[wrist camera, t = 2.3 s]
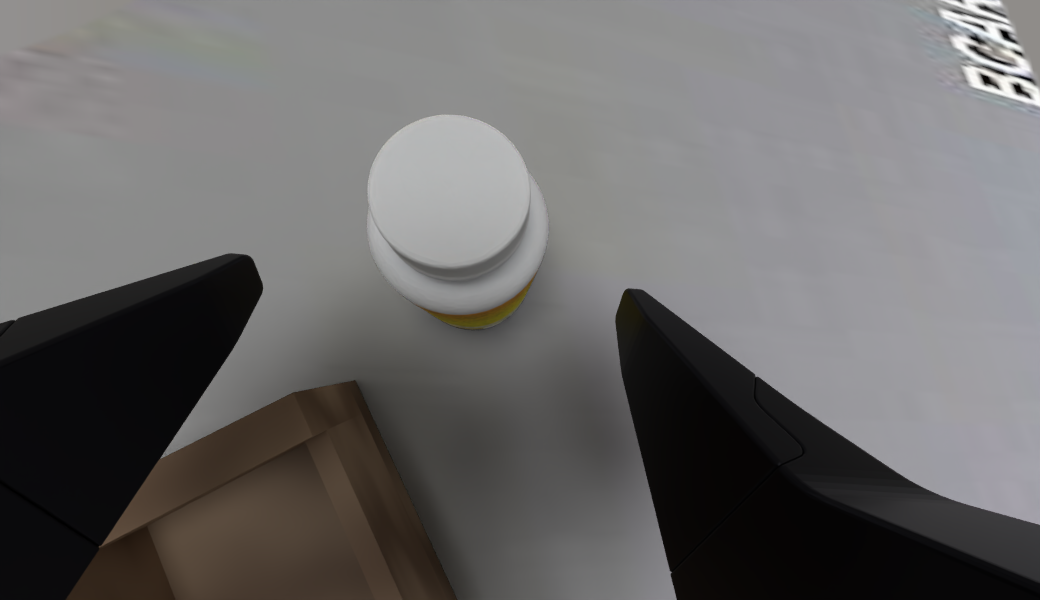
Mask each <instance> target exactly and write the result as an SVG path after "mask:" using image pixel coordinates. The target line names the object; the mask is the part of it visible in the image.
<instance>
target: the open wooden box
mask: <svg viewBox="0 0 1040 600" xmlns="http://www.w3.org/2000/svg"><path fill="white" fill-rule="evenodd" d="M99 547H100V549H99V551H98V553H97V554H96V555H95V557H94V558H93V560H92V561H91V563H90V564H89V566H88V567H87V569H86V570H85V572H84V573H83V575H82V576H81V578H80V579H79V581H78V582H77V584H76V585H75V587H74V588H73V590H72V591H71V593H70V594H69V596H68V597H67V599H66V600H457V599H456V596H455V594H454V592H453V590H452V588H451V586H450V583H449V581H448V579H447V577H446V575H445V573H444V571H443V568H442V566H441V564H440V562H439V560H438V558H437V555H436V553H435V551H434V549H433V547H432V545H431V543H430V540H429V538H428V536H427V534H426V532H425V530H424V527H423V525H422V523H421V521H420V519H419V517H418V515H417V512H416V510H415V508H414V506H413V504H412V502H411V499H410V497H409V495H408V493H407V491H406V489H405V487H404V484H403V482H402V480H401V478H400V476H399V474H398V471H397V469H396V467H395V465H394V463H393V461H392V459H391V456H390V454H389V452H388V450H387V448H386V446H385V444H384V441H383V439H382V437H381V435H380V433H379V431H378V428H377V426H376V424H375V422H374V420H373V418H372V416H371V413H370V411H369V409H368V407H367V405H366V403H365V400H364V398H363V396H362V394H361V392H360V390H359V388H358V385H357V383H356V381H350V382H344V383H339V384H334V385H329V386H324V387H319V388H314V389H309V390H304V391H299V392H294V393H291V394H289V395H287V396H285V397H283V398H281V399H279V400H277V401H275V402H273V403H271V404H269V405H267V406H265V407H263V408H261V409H259V410H257V411H255V412H253V413H251V414H249V415H247V416H245V417H243V418H241V419H239V420H237V421H235V422H233V423H231V424H229V425H227V426H225V427H223V428H222V429H220V430H218V431H216V432H214V433H212V434H210V435H208V436H206V437H204V438H202V439H200V440H198V441H196V442H194V443H192V444H190V445H188V446H186V447H184V448H182V449H180V450H178V451H176V452H174V453H172V454H170V455H168V456H166V457H164V458H162V459H160V460H159V461H158V462H157V464H156V465H155V467H154V468H153V470H152V471H151V473H150V474H149V476H148V477H147V479H146V480H145V482H144V483H143V485H142V486H141V488H140V489H139V491H138V492H137V494H136V495H135V497H134V498H133V500H132V501H131V503H130V504H129V505H128V507H127V508H126V510H125V511H124V513H123V514H122V516H121V517H120V519H119V520H118V522H117V523H116V525H115V526H114V528H113V529H112V531H111V532H110V534H109V535H108V537H107V538H106V540H105V541H104V543H103V544H102V545H101V546H99Z"/></svg>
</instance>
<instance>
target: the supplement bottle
mask: <svg viewBox="0 0 1040 600" xmlns="http://www.w3.org/2000/svg"><path fill="white" fill-rule="evenodd" d="M367 195H368V204H369V209H368V217H367V235H368V242H369V247H370V251H371V254H372V257H373V259H374V261H375V263H376V265H377V267H378V269H379V271H380V272H381V274H382V275H383V277H384V278H385V279H386V281H387V282H388V283H389V284H390V285H391V286H392V287H393V288H394V289H395V290H396V291H397V292H398V293H400V294H401V295H402V296H403V297H405V298H406V299H408V300H409V301H411V302H412V303H414V304H415V305H417V306H419V307H420V308H422V309H424V310H425V311H427V312H428V313H430V314H431V315H433V316H435V317H436V318H438V319H440V320H441V321H443V322H445V323H447V324H449V325H451V326H454V327H457V328H461V329H468V330H480V329H486V328H489V327H492V326H495V325H497V324H499V323H501V322H503V321H504V320H506V319H507V318H508V317H510V316H511V315H512V314H513V313H514V312H515V311H516V310H517V309H518V307H519V306H520V304H521V303H522V301H523V299H524V297H525V295H526V293H527V291H528V289H529V287H530V285H531V283H532V281H533V279H534V277H535V275H536V273H537V271H538V269H539V267H540V264H541V262H542V260H543V257H544V254H545V250H546V247H547V242H548V236H549V218H548V211H547V207H546V203H545V200H544V197H543V195H542V192H541V190H540V188H539V186H538V184H537V183H536V181H535V180H534V178H533V177H532V175H531V174H530V173H529V172H528V170H527V167H526V165H525V163H524V161H523V158H522V156H521V155H520V153H519V152H518V150H517V149H516V147H515V146H514V145H513V143H512V142H511V141H510V140H509V139H508V138H507V137H506V136H505V135H504V134H502V133H501V132H500V131H498V130H497V129H495V128H494V127H492V126H490V125H489V124H487V123H484V122H482V121H480V120H477V119H474V118H470V117H466V116H461V115H437V116H431V117H427V118H424V119H421V120H418V121H416V122H413V123H411V124H409V125H407V126H405V127H404V128H402V129H401V130H399V131H398V132H397V133H395V134H394V135H393V136H392V137H391V138H390V139H389V140H388V141H387V142H386V143H385V144H384V146H383V147H382V148H381V150H380V151H379V153H378V155H377V156H376V158H375V160H374V162H373V165H372V167H371V171H370V174H369V179H368V190H367Z"/></svg>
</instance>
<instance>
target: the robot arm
mask: <svg viewBox="0 0 1040 600" xmlns="http://www.w3.org/2000/svg"><path fill="white" fill-rule="evenodd" d="M262 291H263V284H262V281H261V278H260V276H259V273H258V271H257V268H256V266H255V263H254V261H253V259H252V258H251V257H250V256H248V255H244V254H233V253H230V254H225V255H222V256H219V257H215V258H212V259H209V260H206V261H202V262H199V263H196V264H193V265H189V266H186V267H183V268H180V269H176V270H173V271H170V272H167V273H163V274H160V275H157V276H154V277H150V278H147V279H144V280H141V281H137V282H134V283H131V284H128V285H124V286H121V287H118V288H115V289H111V290H108V291H105V292H101V293H98V294H95V295H92V296H88V297H85V298H82V299H79V300H75V301H72V302H69V303H66V304H62V305H59V306H56V307H53V308H49V309H46V310H43V311H40V312H36V313H33V314H30V315H27V316H23V317H20V318H18V319H17V320H16V321H15V320H10V321H7V322H4V323H0V600H66V599H67V597H68V596H69V594H70V593H71V591H72V590H73V588H74V587H75V585H76V584H77V582H78V581H79V579H80V578H81V576H82V575H83V573H84V572H85V570H86V569H87V567H88V566H89V564H90V563H91V561H92V560H93V558H94V557H95V555H96V554H97V553H98V551H99V549H100V547H99V546H101V545H102V544H103V543H104V541H105V540H106V538H107V537H108V535H109V534H110V532H111V531H112V529H113V528H114V526H115V525H116V523H117V522H118V520H119V519H120V517H121V516H122V514H123V513H124V511H125V510H126V508H127V507H128V505H129V504H130V503H131V501H132V500H133V498H134V497H135V495H136V494H137V492H138V491H139V489H140V488H141V486H142V485H143V483H144V482H145V480H146V479H147V477H148V476H149V474H150V473H151V471H152V470H153V468H154V467H155V465H156V464H157V462H158V461H159V459H160V458H161V456H162V455H163V453H164V452H165V450H166V449H167V447H168V446H169V444H170V443H171V441H172V440H173V438H174V437H175V435H176V434H177V432H178V431H179V429H180V428H181V426H182V425H183V423H184V422H185V420H186V419H187V417H188V416H189V414H190V413H191V411H192V410H193V408H194V407H195V405H196V404H197V402H198V401H199V399H200V398H201V396H202V395H203V393H204V392H205V390H206V389H207V387H208V386H209V384H210V383H211V381H212V380H213V378H214V377H215V375H216V374H217V372H218V371H219V369H220V368H221V366H222V365H223V363H224V362H225V360H226V359H227V357H228V356H229V354H230V353H231V351H232V350H233V348H234V346H235V345H236V343H237V341H238V339H239V337H240V336H241V334H242V332H243V330H244V328H245V326H246V324H247V322H248V320H249V318H250V316H251V314H252V312H253V310H254V308H255V306H256V304H257V303H258V301H259V299H260V297H261V295H262ZM615 322H616V331H617V340H618V349H619V357H620V366H621V372H622V378H623V382H624V386H625V390H626V394H627V399H628V403H629V407H630V411H631V415H632V419H633V423H634V427H635V431H636V435H637V439H638V443H639V447H640V451H641V455H642V459H643V463H644V467H645V472H646V476H647V480H648V484H649V488H650V492H651V496H652V500H653V504H654V508H655V512H656V516H657V520H658V524H659V528H660V532H661V536H662V540H663V544H664V549H665V553H666V557H667V561H668V565H669V569H670V571H671V572H672V573H671V578H672V582H673V586H674V590H675V594H676V598H677V600H1040V525H1038V524H1034V523H1031V522H1027V521H1023V520H1020V519H1016V518H1013V517H1009V516H1006V515H1002V514H998V513H995V512H991V511H988V510H984V509H980V508H977V507H973V506H970V505H966V504H963V503H960V502H957V501H954V500H951V499H948V498H946V497H943V496H940V495H938V494H936V493H934V492H932V491H929V490H927V489H925V488H923V487H921V486H919V485H917V484H915V483H913V482H912V481H910V480H908V479H907V478H905V477H903V476H902V475H900V474H899V473H897V472H895V471H894V470H892V469H891V468H889V467H888V466H886V465H885V464H883V463H882V462H880V461H879V460H877V459H876V458H874V457H873V456H871V455H870V454H868V453H867V452H865V451H864V450H862V449H861V448H859V447H858V446H856V445H855V444H853V443H852V442H850V441H849V440H847V439H846V438H844V437H843V436H841V435H840V434H838V433H837V432H835V431H834V430H832V429H831V428H829V427H828V426H826V425H825V424H823V423H822V422H821V421H819V420H818V419H816V418H815V417H813V416H812V415H810V414H809V413H807V412H806V411H804V410H803V409H802V408H800V407H799V406H797V405H796V404H794V403H793V402H792V401H790V400H789V399H787V398H786V397H785V396H783V395H782V394H781V393H779V392H778V391H777V390H775V389H774V388H772V387H771V386H770V385H768V384H767V383H766V382H765V381H763V380H762V379H761V378H759V377H755V374H754V373H753V372H751V371H750V370H749V369H747V368H746V367H745V366H743V365H742V364H741V363H739V362H738V361H737V360H735V359H734V358H733V357H731V356H730V355H729V354H727V353H726V352H725V351H723V350H722V349H721V348H719V347H718V346H717V345H715V344H714V343H713V342H711V341H710V340H709V339H707V338H706V337H705V336H703V335H702V334H701V333H699V332H698V331H697V330H695V329H694V328H693V327H691V326H690V325H689V324H687V323H686V322H685V321H683V320H682V319H681V318H679V317H678V316H677V315H675V314H674V313H673V312H672V311H670V310H669V309H668V308H666V307H665V306H664V305H662V304H661V303H660V302H658V301H657V300H656V299H654V298H653V297H652V296H650V295H649V294H648V293H646V292H645V291H644V290H641V289H629V288H628V289H626V290H625V291H624V293H623V296H622V299H621V301H620V304H619V307H618V310H617V314H616V321H615Z"/></svg>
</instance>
